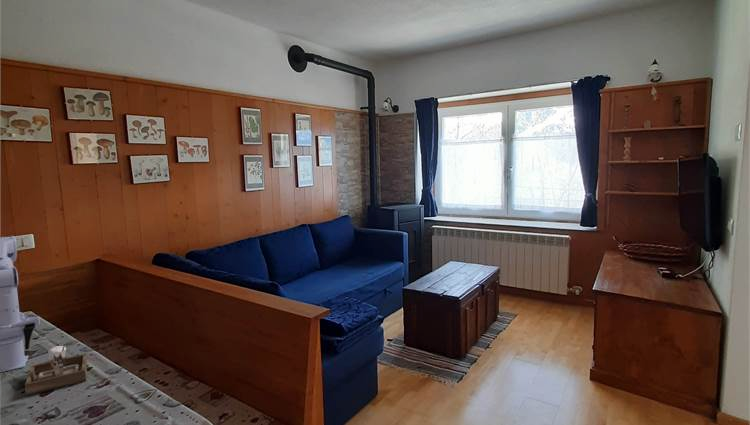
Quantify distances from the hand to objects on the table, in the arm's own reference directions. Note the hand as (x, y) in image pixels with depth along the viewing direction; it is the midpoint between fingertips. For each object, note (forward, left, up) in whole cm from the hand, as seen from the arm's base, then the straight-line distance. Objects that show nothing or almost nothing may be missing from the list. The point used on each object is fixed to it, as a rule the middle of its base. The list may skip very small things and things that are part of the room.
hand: (10, 351), depth 118 cm
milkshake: (+3, +11, -10) cm, 15 cm away
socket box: (+4, +11, -10) cm, 16 cm away
